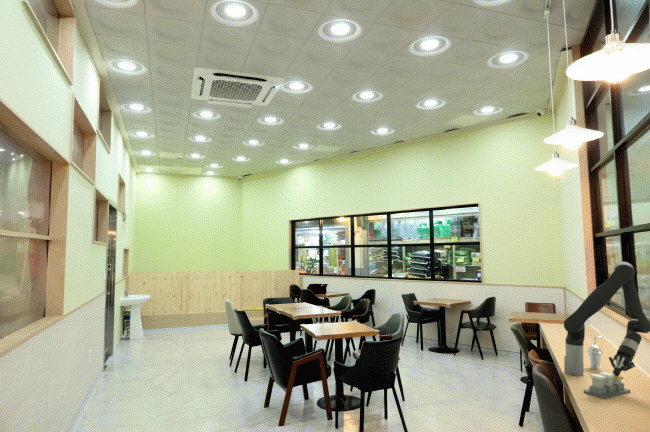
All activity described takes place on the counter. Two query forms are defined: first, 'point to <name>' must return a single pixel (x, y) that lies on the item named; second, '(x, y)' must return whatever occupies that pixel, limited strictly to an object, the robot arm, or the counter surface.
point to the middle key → (608, 378)
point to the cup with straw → (595, 355)
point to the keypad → (607, 391)
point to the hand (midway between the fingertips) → (615, 375)
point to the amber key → (617, 379)
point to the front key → (597, 380)
